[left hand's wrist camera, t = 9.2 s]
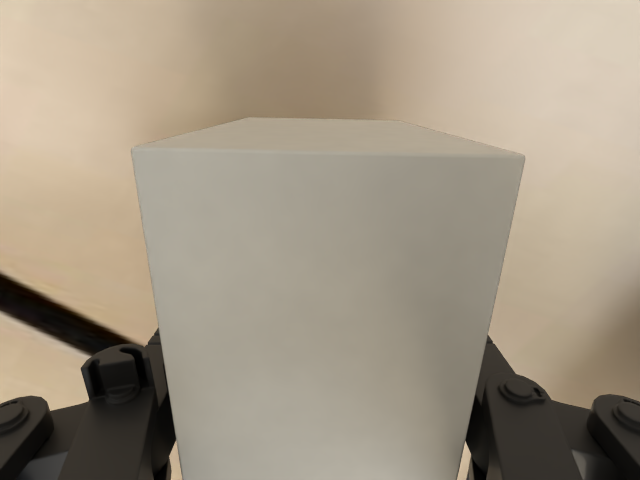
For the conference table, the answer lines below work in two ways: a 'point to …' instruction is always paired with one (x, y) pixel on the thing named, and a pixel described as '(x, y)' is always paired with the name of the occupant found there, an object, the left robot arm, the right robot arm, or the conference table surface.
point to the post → (323, 293)
